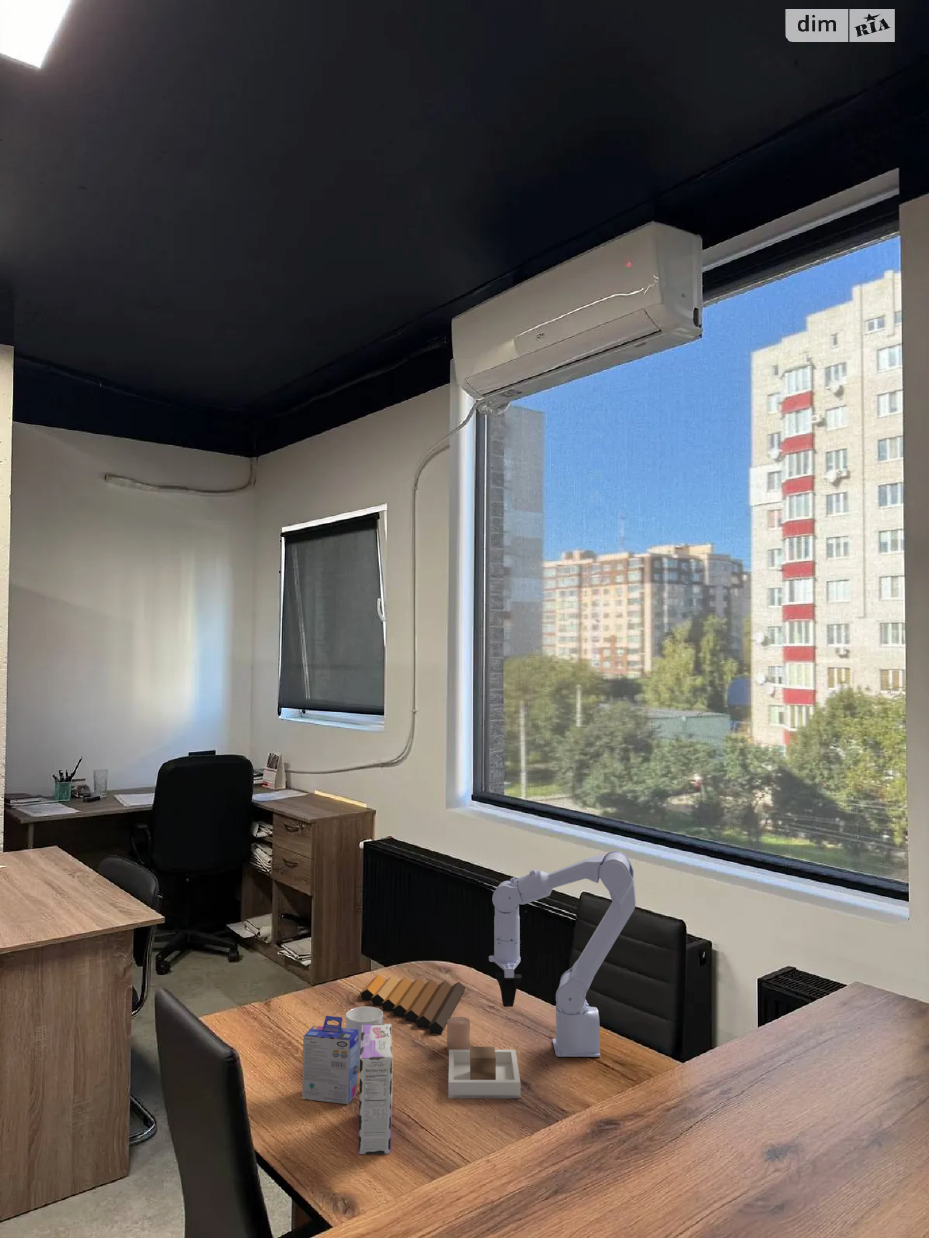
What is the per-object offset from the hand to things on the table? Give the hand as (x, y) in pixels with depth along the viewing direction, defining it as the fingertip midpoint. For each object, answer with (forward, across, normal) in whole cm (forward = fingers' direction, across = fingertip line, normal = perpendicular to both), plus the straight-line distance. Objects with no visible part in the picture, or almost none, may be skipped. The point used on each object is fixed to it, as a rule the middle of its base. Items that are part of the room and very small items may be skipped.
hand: (506, 999), depth 188 cm
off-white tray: (+9, +17, -6) cm, 21 cm away
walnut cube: (+9, +17, -6) cm, 20 cm away
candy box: (+10, +36, -26) cm, 46 cm away
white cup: (+10, +9, -31) cm, 34 cm away
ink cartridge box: (+10, +23, -36) cm, 44 cm away
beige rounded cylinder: (+9, +3, -11) cm, 15 cm away
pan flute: (+10, -19, -24) cm, 32 cm away
